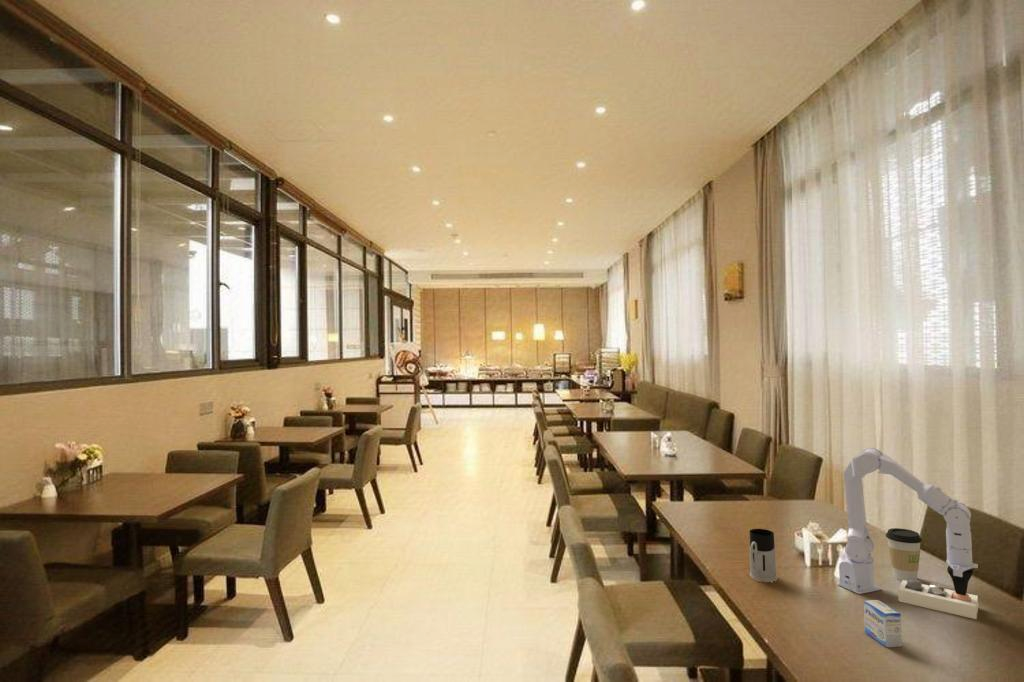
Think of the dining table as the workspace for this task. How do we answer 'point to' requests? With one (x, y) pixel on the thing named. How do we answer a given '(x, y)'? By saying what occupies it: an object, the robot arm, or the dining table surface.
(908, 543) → the coffee cup
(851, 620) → the dining table surface
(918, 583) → the grey stone
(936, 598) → the cream rectangular tray
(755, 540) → the glass holder
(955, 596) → the tan rounded lump
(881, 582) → the dining table surface
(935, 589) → the grey rock
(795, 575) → the dining table surface
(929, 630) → the dining table surface
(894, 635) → the medicine box
